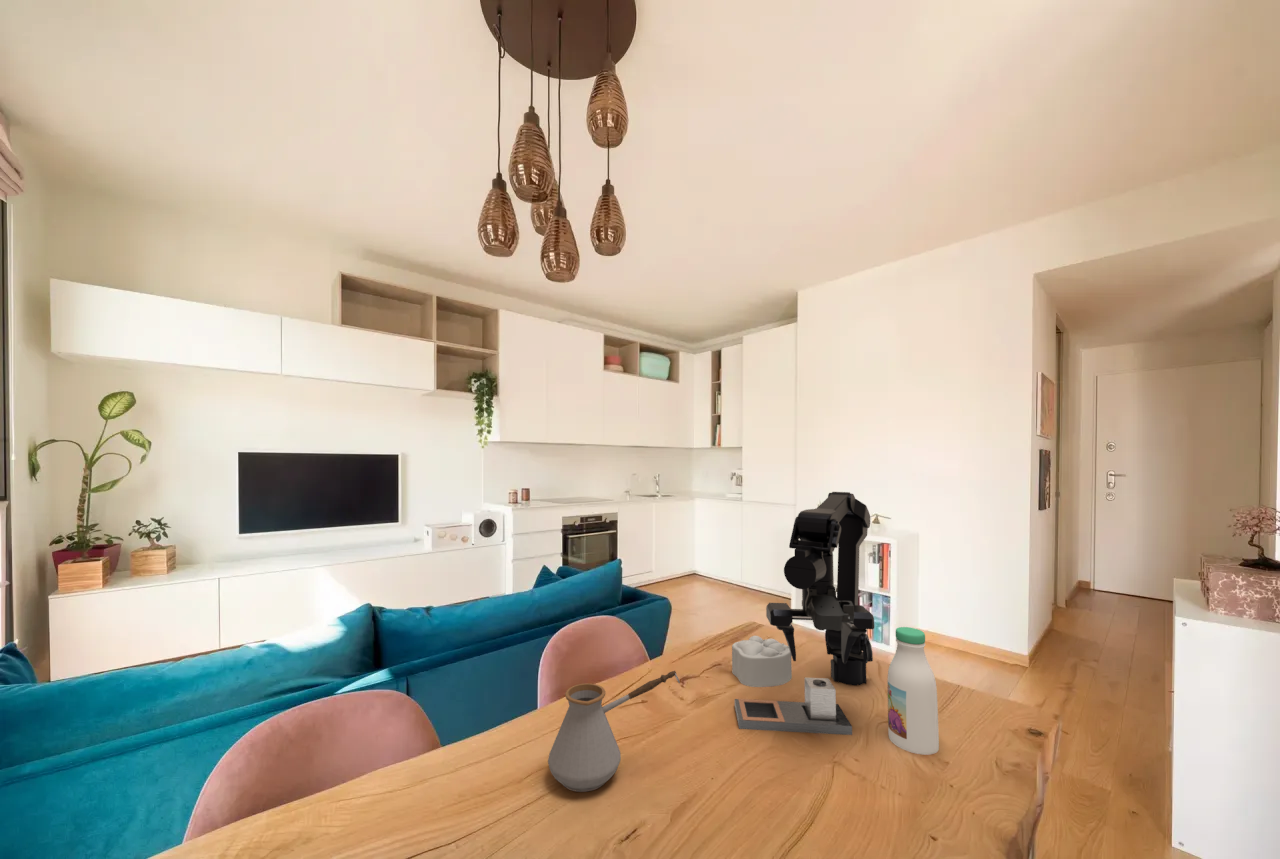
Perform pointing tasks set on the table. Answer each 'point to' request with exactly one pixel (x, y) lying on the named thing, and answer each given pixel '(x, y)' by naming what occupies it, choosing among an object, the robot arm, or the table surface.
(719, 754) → the table surface
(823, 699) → the block
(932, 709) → the milk bottle
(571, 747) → the coffee pot
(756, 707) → the grey flat block
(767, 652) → the lumpy-topped squat cylinder
